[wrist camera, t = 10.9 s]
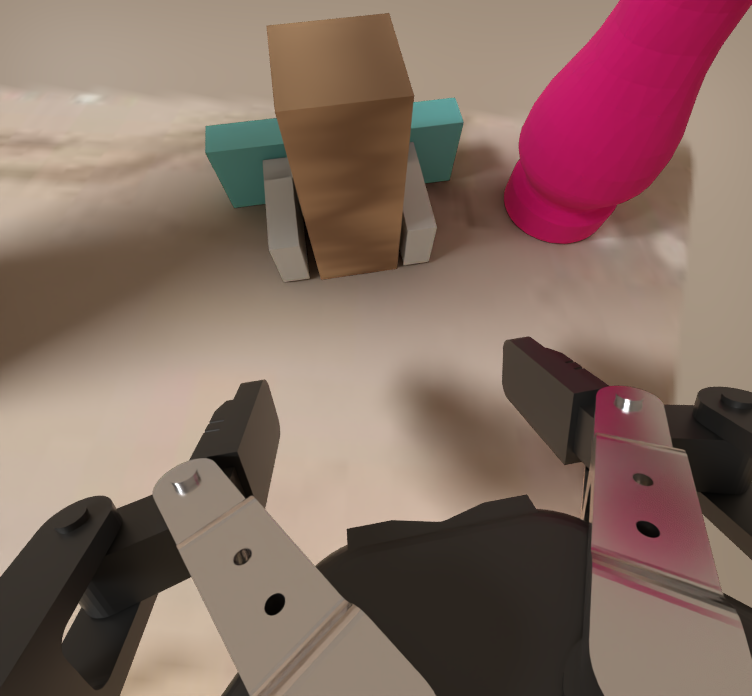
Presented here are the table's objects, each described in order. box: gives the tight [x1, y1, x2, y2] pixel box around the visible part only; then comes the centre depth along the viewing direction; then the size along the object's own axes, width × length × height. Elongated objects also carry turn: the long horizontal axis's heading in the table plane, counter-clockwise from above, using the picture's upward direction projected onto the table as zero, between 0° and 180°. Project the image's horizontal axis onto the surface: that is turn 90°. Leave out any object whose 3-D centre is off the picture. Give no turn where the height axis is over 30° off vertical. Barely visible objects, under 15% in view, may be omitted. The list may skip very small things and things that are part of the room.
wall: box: [205, 98, 464, 208], centre depth 21 cm, size 14×2×4 cm, turn 99°
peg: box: [267, 13, 414, 280], centre depth 17 cm, size 4×4×10 cm
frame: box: [263, 142, 437, 282], centre depth 20 cm, size 8×6×3 cm
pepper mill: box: [504, 0, 752, 244], centre depth 13 cm, size 7×7×20 cm
